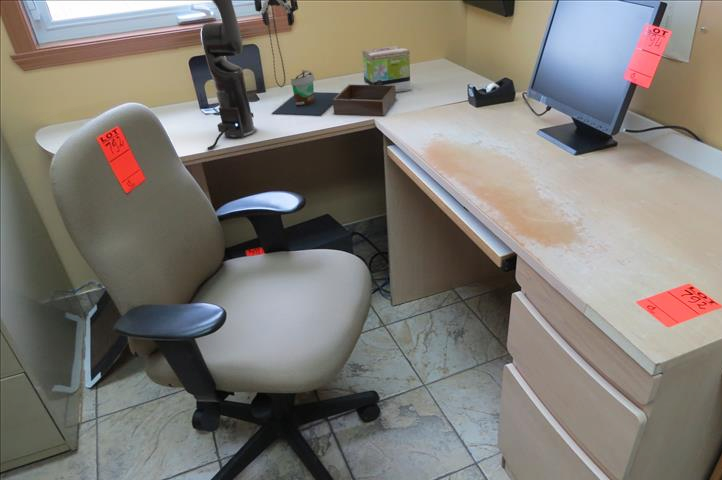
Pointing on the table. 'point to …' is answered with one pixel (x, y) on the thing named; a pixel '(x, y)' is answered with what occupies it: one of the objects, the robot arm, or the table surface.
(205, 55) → the robot arm
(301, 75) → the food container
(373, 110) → the crate
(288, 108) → the desk mat
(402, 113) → the table surface
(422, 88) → the table surface
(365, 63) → the tea box
